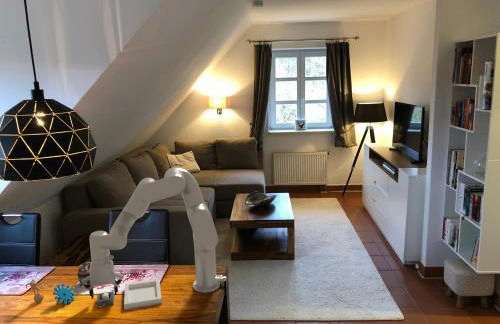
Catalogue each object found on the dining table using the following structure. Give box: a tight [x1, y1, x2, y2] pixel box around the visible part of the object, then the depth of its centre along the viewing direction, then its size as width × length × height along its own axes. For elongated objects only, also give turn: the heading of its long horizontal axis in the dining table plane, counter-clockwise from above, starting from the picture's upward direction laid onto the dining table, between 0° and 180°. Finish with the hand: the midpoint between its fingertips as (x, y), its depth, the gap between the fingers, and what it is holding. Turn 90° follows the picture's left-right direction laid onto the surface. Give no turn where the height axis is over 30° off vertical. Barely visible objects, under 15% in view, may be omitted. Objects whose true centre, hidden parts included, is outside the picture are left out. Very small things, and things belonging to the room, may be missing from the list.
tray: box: [123, 278, 163, 310], centre depth 181 cm, size 16×18×2 cm
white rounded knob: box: [102, 291, 109, 299], centre depth 177 cm, size 3×4×4 cm
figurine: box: [25, 278, 45, 303], centre depth 176 cm, size 8×6×12 cm
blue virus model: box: [52, 282, 76, 305], centre depth 178 cm, size 11×6×10 cm
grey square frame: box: [95, 290, 115, 308], centre depth 176 cm, size 7×8×3 cm
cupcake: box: [77, 260, 91, 288], centre depth 192 cm, size 10×10×10 cm
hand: (104, 295), depth 176 cm, fingers open, 9 cm apart
